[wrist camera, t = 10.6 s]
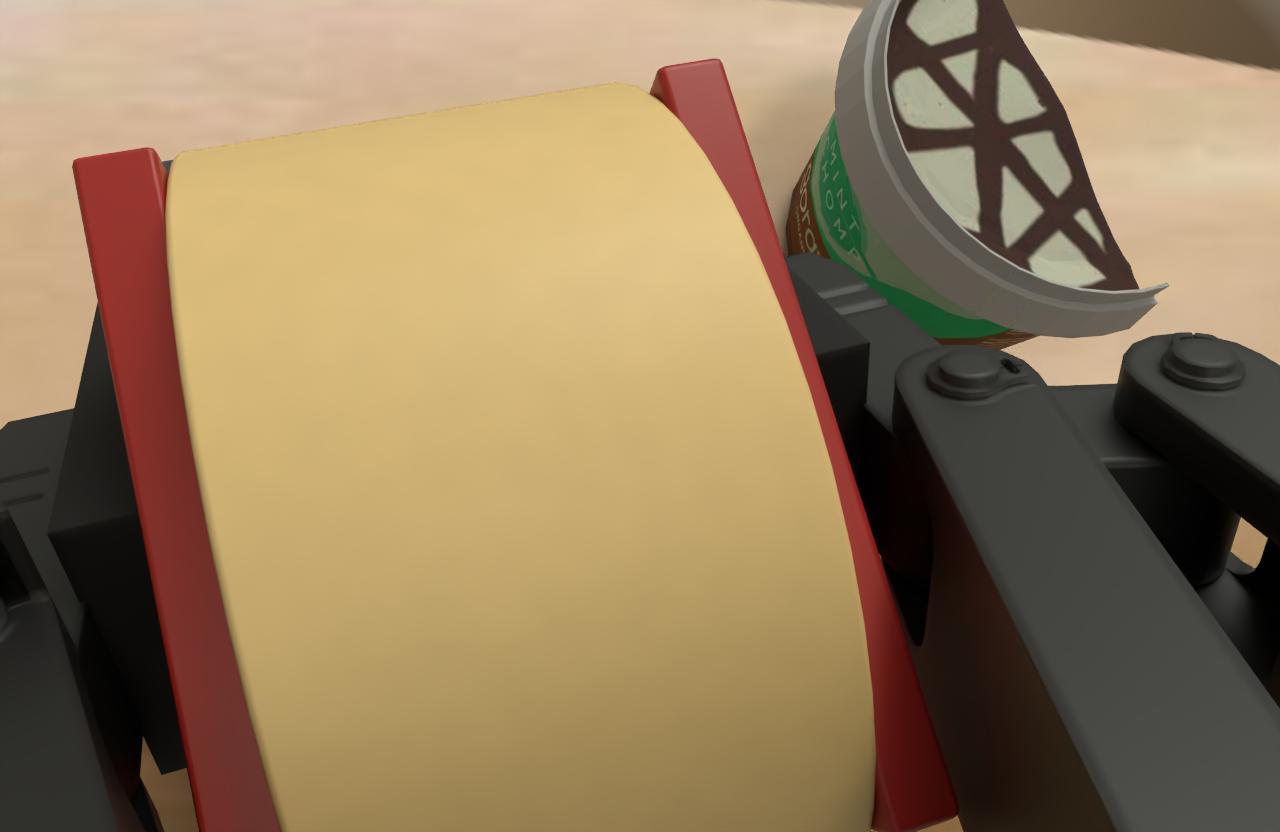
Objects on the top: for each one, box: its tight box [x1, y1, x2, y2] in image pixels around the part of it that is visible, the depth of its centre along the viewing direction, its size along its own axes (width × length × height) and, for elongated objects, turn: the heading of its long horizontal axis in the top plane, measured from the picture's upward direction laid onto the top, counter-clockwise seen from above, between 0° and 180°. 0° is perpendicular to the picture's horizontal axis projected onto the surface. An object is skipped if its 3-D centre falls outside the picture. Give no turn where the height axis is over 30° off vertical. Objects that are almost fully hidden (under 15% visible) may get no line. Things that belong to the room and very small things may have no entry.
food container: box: [786, 0, 1169, 350], centre depth 33 cm, size 12×6×10 cm, turn 21°
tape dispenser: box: [72, 59, 960, 832], centre depth 11 cm, size 5×9×10 cm, turn 16°
